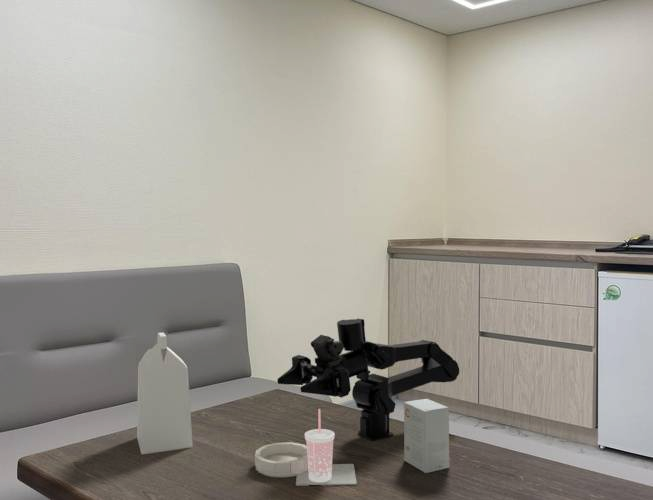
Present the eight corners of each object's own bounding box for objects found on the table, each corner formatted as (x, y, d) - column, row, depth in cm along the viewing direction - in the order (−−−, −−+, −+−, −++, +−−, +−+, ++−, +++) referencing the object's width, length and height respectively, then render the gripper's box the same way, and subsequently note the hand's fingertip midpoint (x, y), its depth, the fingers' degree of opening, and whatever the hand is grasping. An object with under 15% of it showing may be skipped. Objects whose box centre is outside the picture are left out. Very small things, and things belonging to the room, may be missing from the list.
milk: (192, 447, 142) (190, 336, 141) (141, 454, 138) (139, 340, 137) (184, 431, 153) (182, 329, 153) (137, 437, 149) (134, 332, 148)
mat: (353, 465, 130) (353, 463, 130) (356, 484, 120) (356, 483, 120) (297, 466, 130) (297, 464, 130) (295, 485, 120) (295, 484, 120)
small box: (450, 468, 128) (449, 407, 128) (425, 474, 125) (424, 411, 125) (427, 455, 135) (427, 397, 135) (403, 460, 133) (403, 401, 132)
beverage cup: (340, 474, 125) (339, 406, 124) (326, 486, 119) (325, 415, 119) (314, 469, 127) (313, 403, 127) (299, 480, 122) (298, 411, 121)
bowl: (294, 452, 138) (294, 438, 138) (322, 469, 128) (322, 455, 128) (246, 463, 132) (246, 449, 132) (271, 482, 122) (271, 467, 122)
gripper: (316, 328, 149) (262, 343, 140) (366, 338, 134) (309, 356, 125) (321, 371, 151) (268, 390, 141) (371, 387, 136) (315, 408, 126)
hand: (289, 385), depth 134 cm, fingers open, 9 cm apart
